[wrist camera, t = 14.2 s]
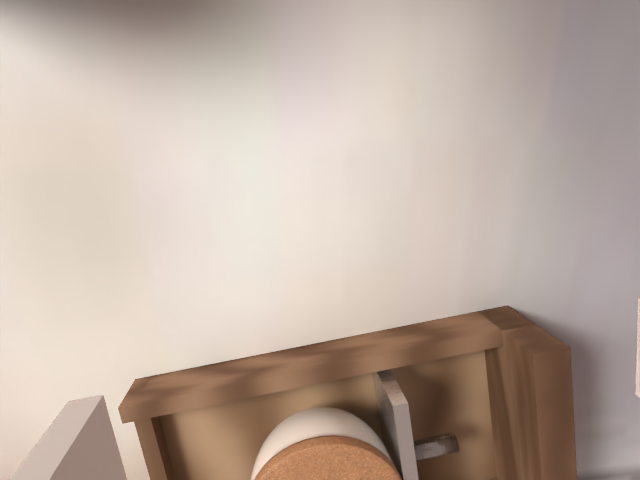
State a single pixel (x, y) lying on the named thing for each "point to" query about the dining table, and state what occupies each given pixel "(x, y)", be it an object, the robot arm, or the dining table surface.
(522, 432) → the wooden tray
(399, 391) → the pusher
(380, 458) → the lidded jar
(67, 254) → the dining table surface
